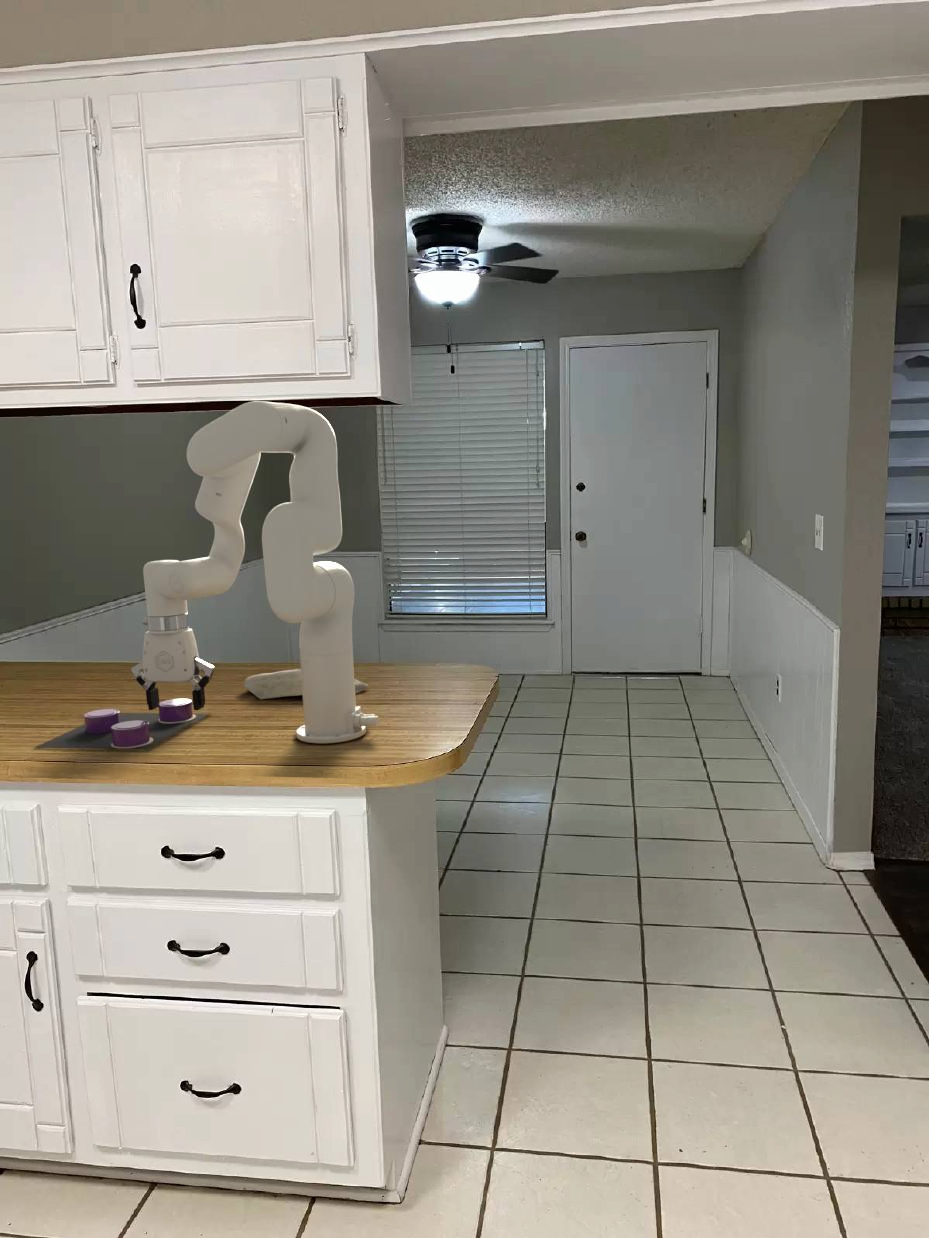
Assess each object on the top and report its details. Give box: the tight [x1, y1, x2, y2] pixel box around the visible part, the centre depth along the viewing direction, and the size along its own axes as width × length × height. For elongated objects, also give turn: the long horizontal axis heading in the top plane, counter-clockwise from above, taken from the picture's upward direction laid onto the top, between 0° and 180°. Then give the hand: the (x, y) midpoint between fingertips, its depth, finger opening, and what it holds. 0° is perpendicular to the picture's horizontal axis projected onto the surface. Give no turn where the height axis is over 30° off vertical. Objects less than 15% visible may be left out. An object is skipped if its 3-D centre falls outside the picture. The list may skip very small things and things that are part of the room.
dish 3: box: [157, 698, 194, 722], centre depth 179 cm, size 6×6×3 cm
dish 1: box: [83, 708, 121, 734], centre depth 173 cm, size 6×6×3 cm
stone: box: [242, 668, 369, 700], centre depth 199 cm, size 28×7×15 cm
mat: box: [36, 712, 210, 751], centre depth 172 cm, size 22×24×1 cm
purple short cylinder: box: [111, 720, 150, 747], centre depth 163 cm, size 6×6×3 cm
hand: (176, 708), depth 179 cm, fingers open, 9 cm apart
